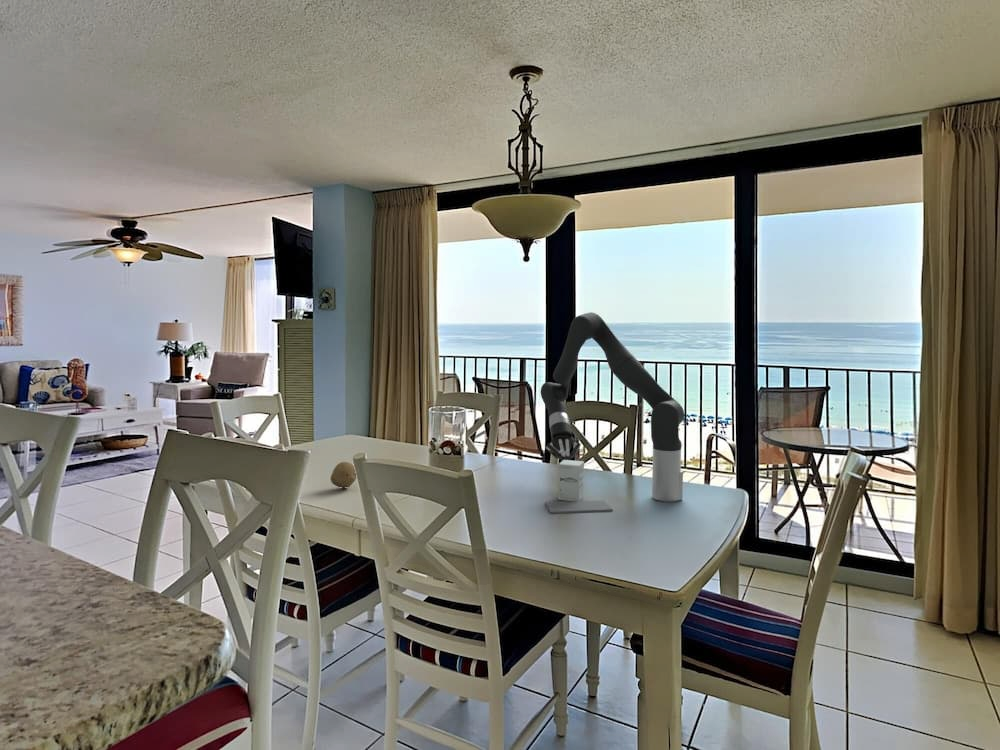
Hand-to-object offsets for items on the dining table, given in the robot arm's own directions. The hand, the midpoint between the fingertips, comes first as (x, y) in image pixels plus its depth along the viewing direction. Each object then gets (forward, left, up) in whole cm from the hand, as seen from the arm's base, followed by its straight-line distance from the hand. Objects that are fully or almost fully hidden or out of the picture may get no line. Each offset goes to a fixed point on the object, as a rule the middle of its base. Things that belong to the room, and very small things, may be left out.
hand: (566, 467), depth 212 cm
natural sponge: (+79, -14, -9) cm, 81 cm away
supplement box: (0, +7, -9) cm, 12 cm away
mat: (0, +17, -9) cm, 20 cm away
